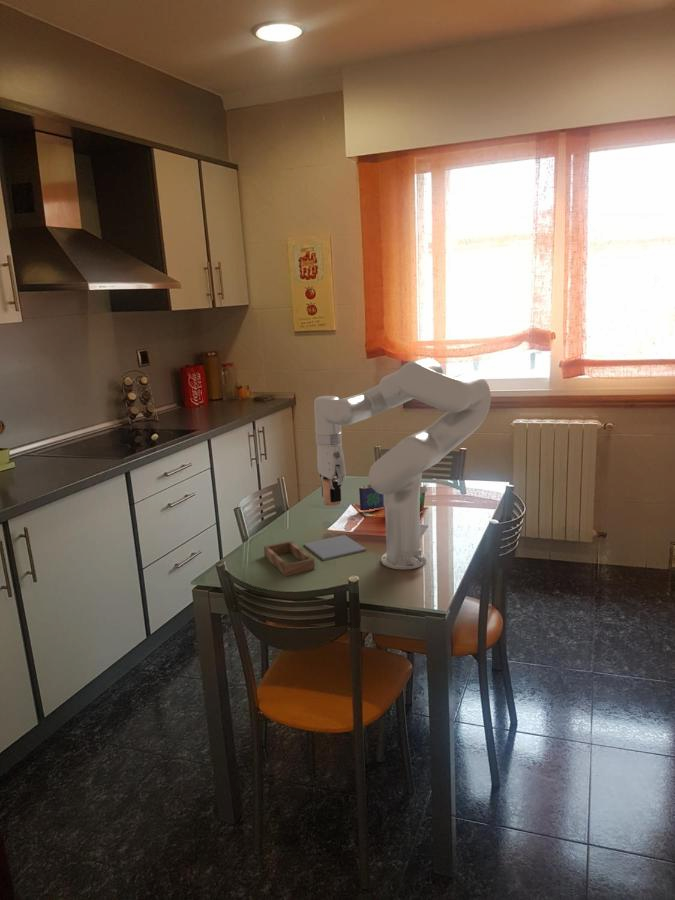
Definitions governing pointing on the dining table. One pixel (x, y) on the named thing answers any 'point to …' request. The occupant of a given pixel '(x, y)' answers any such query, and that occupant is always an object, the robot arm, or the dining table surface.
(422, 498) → the food container
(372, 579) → the dining table surface
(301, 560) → the pocket frame
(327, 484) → the clay cylinder
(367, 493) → the flask
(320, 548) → the rubber mat
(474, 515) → the dining table surface
